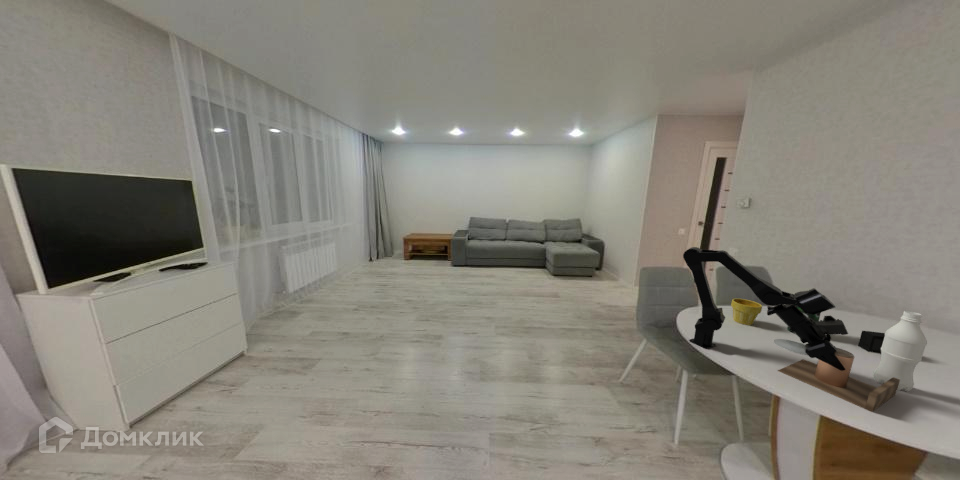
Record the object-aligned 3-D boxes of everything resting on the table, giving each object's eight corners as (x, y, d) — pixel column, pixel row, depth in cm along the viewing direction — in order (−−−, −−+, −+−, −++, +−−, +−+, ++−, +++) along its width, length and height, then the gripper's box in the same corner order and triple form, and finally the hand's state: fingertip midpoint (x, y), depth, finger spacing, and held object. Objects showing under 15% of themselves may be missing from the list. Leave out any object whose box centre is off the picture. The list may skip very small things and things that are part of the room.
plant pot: (764, 328, 126) (768, 308, 124) (738, 325, 128) (741, 305, 126) (747, 318, 136) (751, 299, 134) (723, 316, 138) (726, 297, 136)
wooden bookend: (871, 415, 77) (876, 395, 76) (776, 373, 94) (780, 357, 93) (894, 397, 83) (900, 379, 82) (802, 361, 101) (806, 346, 100)
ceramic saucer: (810, 361, 101) (811, 358, 101) (766, 344, 112) (767, 342, 112) (825, 354, 106) (826, 352, 105) (782, 339, 117) (782, 336, 116)
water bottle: (864, 379, 91) (884, 308, 87) (883, 379, 92) (904, 307, 88) (898, 395, 84) (922, 318, 80) (918, 394, 85) (943, 318, 81)
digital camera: (871, 353, 107) (876, 336, 106) (857, 346, 112) (861, 330, 111) (909, 358, 104) (914, 341, 103) (893, 350, 109) (898, 334, 108)
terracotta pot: (841, 389, 85) (849, 358, 83) (810, 376, 91) (817, 347, 89) (850, 384, 87) (858, 354, 86) (819, 372, 93) (826, 343, 91)
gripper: (832, 319, 81) (886, 370, 76) (823, 302, 94) (869, 345, 89) (786, 333, 88) (833, 382, 83) (784, 316, 101) (824, 356, 95)
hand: (841, 365), depth 87 cm, fingers closed on terracotta pot, 6 cm apart
